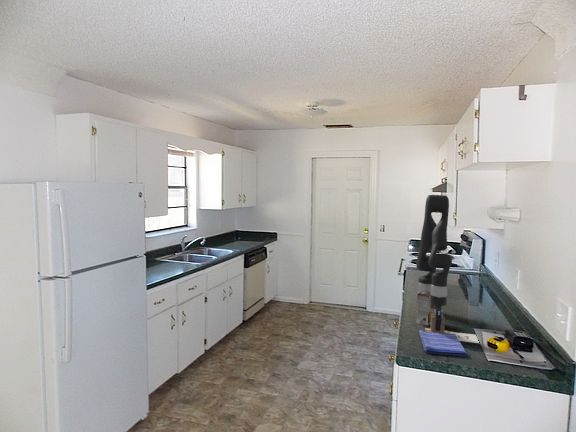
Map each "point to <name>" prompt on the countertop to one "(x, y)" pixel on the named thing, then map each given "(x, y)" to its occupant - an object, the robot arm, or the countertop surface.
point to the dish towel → (442, 343)
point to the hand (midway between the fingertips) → (437, 328)
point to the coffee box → (424, 308)
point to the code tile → (466, 337)
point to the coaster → (435, 332)
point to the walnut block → (435, 323)
